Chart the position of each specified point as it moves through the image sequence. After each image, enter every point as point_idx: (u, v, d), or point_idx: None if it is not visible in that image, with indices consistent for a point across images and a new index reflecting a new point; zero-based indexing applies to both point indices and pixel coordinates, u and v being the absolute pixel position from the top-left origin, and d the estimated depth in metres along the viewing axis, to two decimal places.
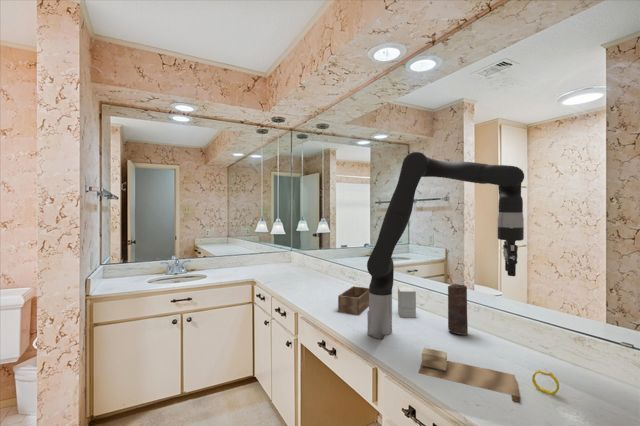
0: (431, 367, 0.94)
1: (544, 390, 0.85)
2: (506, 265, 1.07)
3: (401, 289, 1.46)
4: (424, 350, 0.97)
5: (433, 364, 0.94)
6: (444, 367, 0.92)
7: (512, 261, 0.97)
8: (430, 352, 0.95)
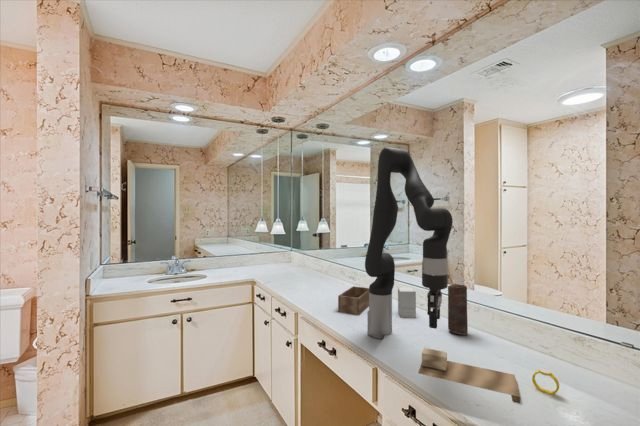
0: (431, 367, 0.94)
1: (544, 390, 0.85)
2: None
3: (401, 289, 1.46)
4: (424, 350, 0.97)
5: (433, 364, 0.94)
6: (444, 367, 0.92)
7: (431, 313, 0.89)
8: (430, 352, 0.95)
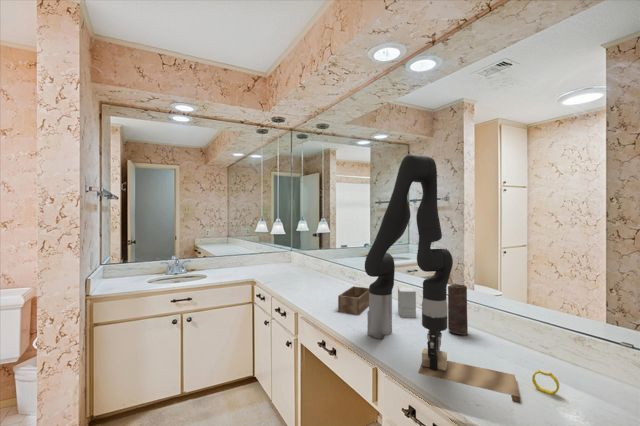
0: None
1: (544, 390, 0.85)
2: None
3: (401, 289, 1.46)
4: (424, 350, 0.97)
5: None
6: (444, 367, 0.92)
7: (432, 357, 0.91)
8: None
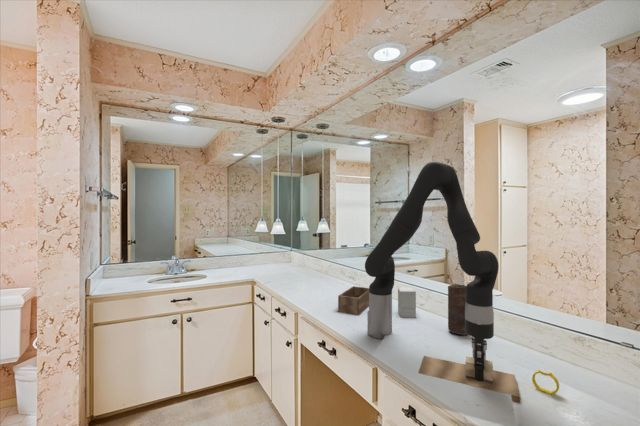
0: None
1: (544, 390, 0.85)
2: None
3: (401, 289, 1.46)
4: (467, 359, 0.91)
5: None
6: (491, 377, 0.86)
7: (479, 367, 0.85)
8: None
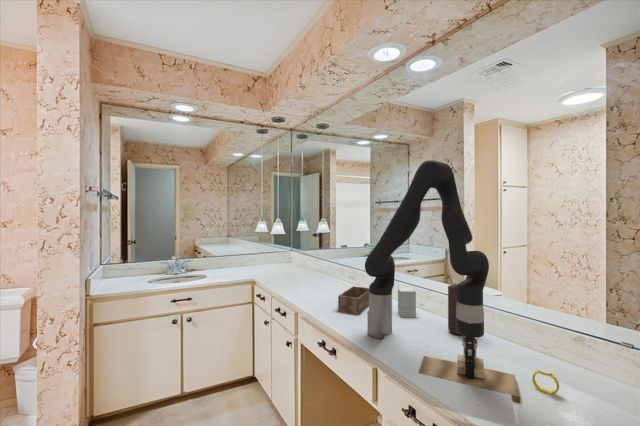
0: None
1: (544, 390, 0.85)
2: None
3: (401, 289, 1.46)
4: (459, 357, 0.92)
5: None
6: (482, 375, 0.88)
7: (469, 365, 0.86)
8: None
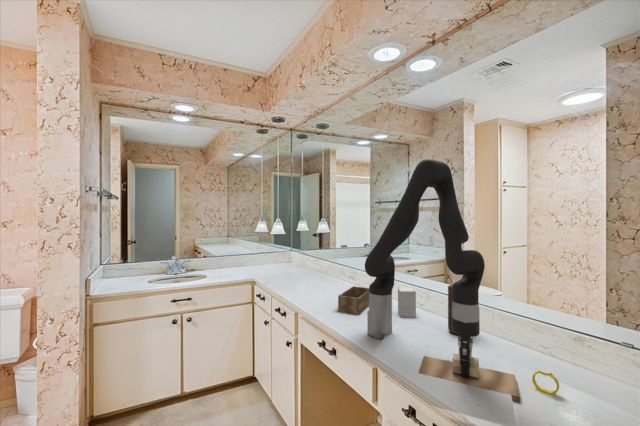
0: None
1: (544, 390, 0.85)
2: None
3: (401, 289, 1.46)
4: (454, 356, 0.92)
5: None
6: (477, 374, 0.88)
7: (464, 364, 0.86)
8: None
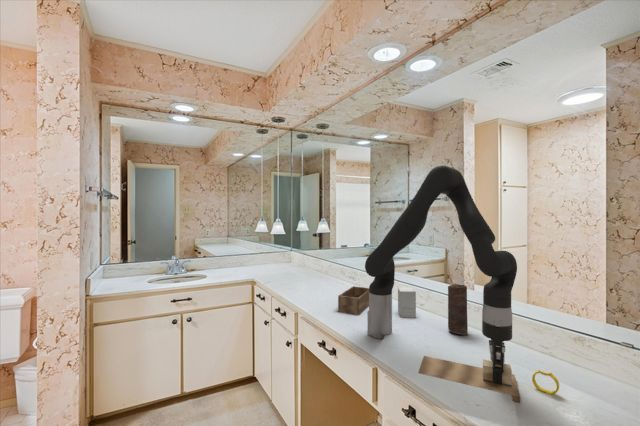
0: None
1: (544, 390, 0.85)
2: None
3: (401, 289, 1.46)
4: (484, 362, 0.89)
5: None
6: (509, 381, 0.84)
7: (498, 370, 0.82)
8: (491, 364, 0.88)
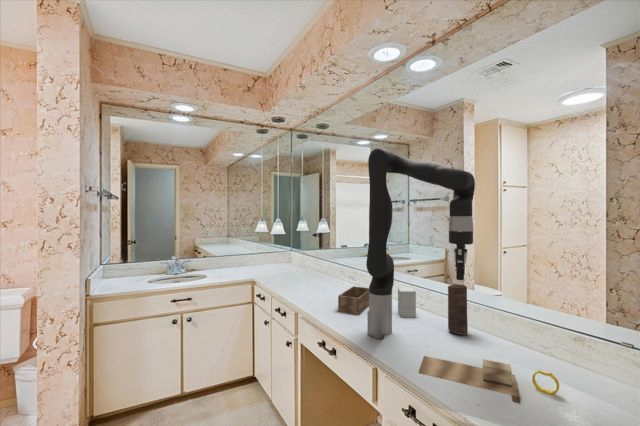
0: (494, 381, 0.86)
1: (544, 390, 0.85)
2: None
3: (401, 289, 1.46)
4: (484, 362, 0.89)
5: (496, 378, 0.86)
6: (509, 381, 0.84)
7: (459, 265, 0.96)
8: (491, 364, 0.88)
